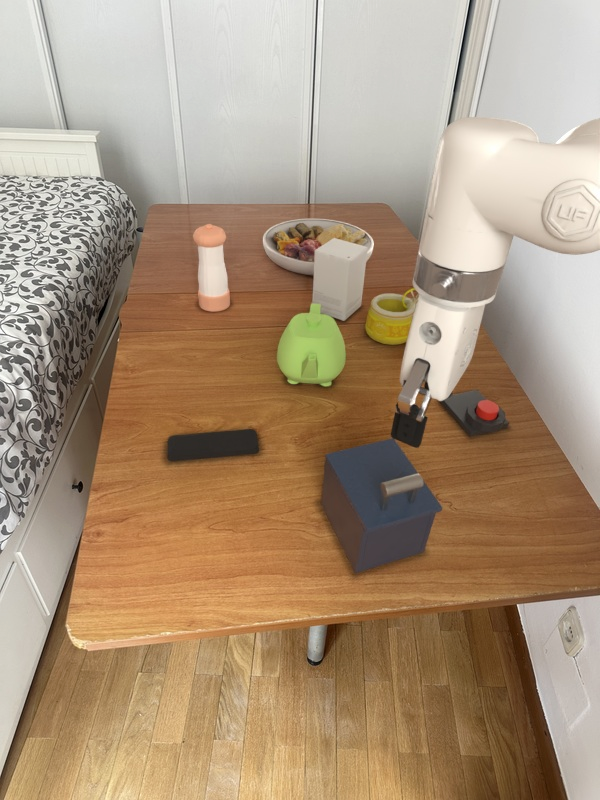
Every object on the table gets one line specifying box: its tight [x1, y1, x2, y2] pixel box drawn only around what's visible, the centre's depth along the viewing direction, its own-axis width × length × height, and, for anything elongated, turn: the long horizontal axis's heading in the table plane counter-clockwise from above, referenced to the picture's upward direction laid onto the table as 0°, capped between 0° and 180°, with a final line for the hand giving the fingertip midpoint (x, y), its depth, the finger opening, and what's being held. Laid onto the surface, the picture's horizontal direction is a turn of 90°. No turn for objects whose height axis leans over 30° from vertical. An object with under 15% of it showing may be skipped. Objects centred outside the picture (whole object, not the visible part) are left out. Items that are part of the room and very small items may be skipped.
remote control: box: [166, 428, 260, 462], centre depth 89 cm, size 5×2×15 cm
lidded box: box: [320, 458, 437, 574], centre depth 75 cm, size 13×11×10 cm
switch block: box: [439, 389, 510, 437], centre depth 97 cm, size 11×8×3 cm
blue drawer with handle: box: [324, 437, 443, 533], centre depth 70 cm, size 13×11×5 cm
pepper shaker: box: [192, 223, 231, 312], centre depth 120 cm, size 7×7×19 cm
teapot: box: [276, 302, 347, 387], centre depth 103 cm, size 20×13×13 cm
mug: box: [364, 287, 419, 346], centre depth 114 cm, size 13×11×12 cm
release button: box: [476, 399, 500, 421], centre depth 94 cm, size 4×4×2 cm
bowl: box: [262, 218, 375, 277], centre depth 146 cm, size 30×30×8 cm
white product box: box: [311, 238, 368, 322], centre depth 122 cm, size 9×9×15 cm
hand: (422, 415), depth 59 cm, fingers open, 9 cm apart
